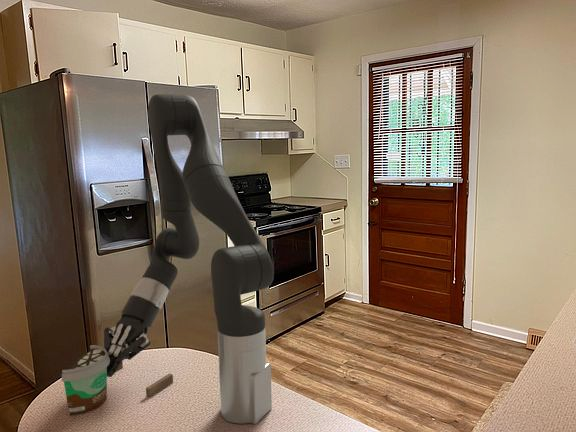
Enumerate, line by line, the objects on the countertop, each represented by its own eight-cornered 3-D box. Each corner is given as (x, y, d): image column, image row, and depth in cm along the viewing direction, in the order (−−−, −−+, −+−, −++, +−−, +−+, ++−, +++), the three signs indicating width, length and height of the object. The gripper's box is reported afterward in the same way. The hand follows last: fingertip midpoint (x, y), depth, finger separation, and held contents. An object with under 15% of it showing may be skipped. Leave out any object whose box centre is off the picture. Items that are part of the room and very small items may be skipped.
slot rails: (173, 382, 98) (172, 374, 98) (149, 398, 92) (149, 389, 92) (120, 367, 106) (119, 359, 106) (95, 380, 100) (94, 371, 100)
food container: (96, 420, 85) (92, 371, 84) (65, 420, 85) (60, 371, 84) (122, 386, 97) (119, 344, 96) (95, 387, 97) (91, 344, 96)
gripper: (115, 290, 102) (73, 362, 93) (157, 298, 96) (116, 376, 87) (135, 305, 107) (96, 374, 99) (176, 313, 101) (138, 388, 92)
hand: (105, 375), depth 93 cm, fingers closed
